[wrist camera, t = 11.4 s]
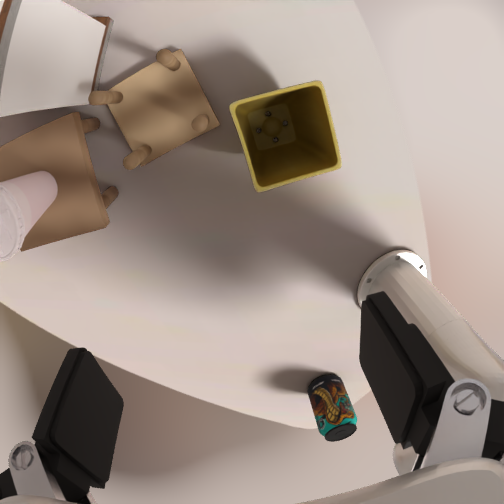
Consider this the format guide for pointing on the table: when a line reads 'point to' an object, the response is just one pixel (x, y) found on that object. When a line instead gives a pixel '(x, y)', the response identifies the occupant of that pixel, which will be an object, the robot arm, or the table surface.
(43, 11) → the display case
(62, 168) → the stool
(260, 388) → the table surface
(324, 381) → the beverage can
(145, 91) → the upturned stool
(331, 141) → the flower pot
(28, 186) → the smoothie
